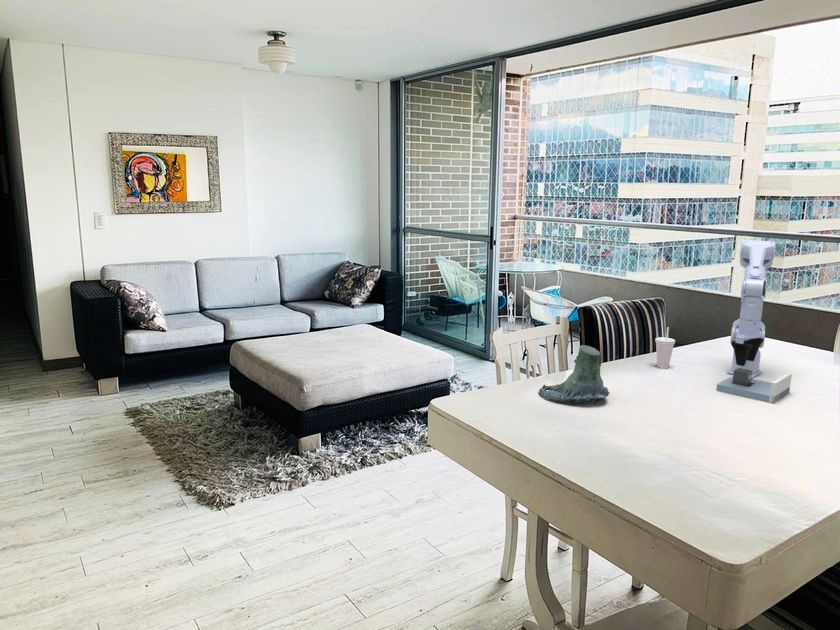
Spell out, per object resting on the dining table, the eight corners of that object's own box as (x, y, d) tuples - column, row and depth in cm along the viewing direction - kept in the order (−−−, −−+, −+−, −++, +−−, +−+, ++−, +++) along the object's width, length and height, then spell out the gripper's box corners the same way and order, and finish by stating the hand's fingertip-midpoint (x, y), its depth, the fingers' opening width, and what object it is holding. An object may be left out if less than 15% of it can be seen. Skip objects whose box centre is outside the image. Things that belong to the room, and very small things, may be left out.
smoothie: (669, 370, 214) (673, 329, 212) (650, 367, 218) (653, 327, 215) (675, 366, 219) (678, 326, 217) (656, 363, 223) (659, 324, 220)
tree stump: (559, 383, 201) (576, 331, 195) (614, 413, 189) (634, 358, 183) (525, 393, 188) (542, 337, 182) (583, 426, 176) (603, 368, 170)
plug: (736, 386, 198) (738, 367, 197) (751, 389, 195) (753, 370, 194) (731, 389, 195) (733, 370, 194) (746, 392, 192) (748, 373, 191)
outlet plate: (733, 381, 203) (735, 362, 202) (789, 393, 192) (791, 373, 191) (716, 390, 194) (718, 371, 193) (773, 403, 183) (776, 383, 181)
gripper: (745, 313, 198) (740, 356, 201) (727, 320, 189) (722, 364, 191) (769, 317, 194) (764, 360, 196) (752, 324, 184) (747, 369, 186)
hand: (745, 362), depth 193 cm, fingers open, 7 cm apart
